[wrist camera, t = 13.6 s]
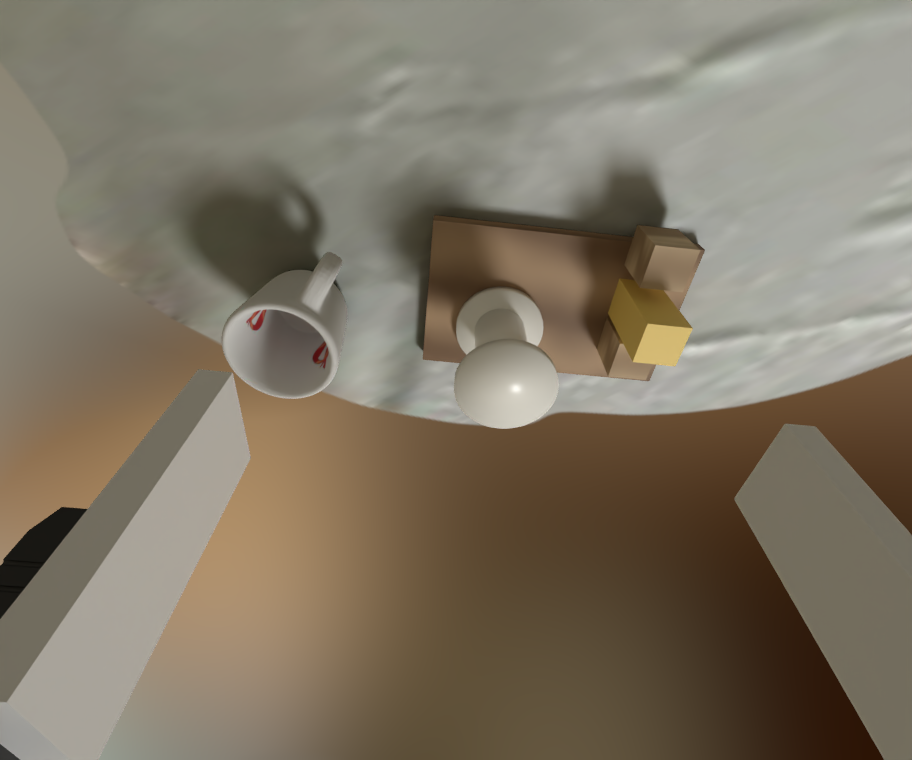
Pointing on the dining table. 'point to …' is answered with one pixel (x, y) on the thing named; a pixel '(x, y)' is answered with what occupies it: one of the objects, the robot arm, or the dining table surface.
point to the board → (554, 285)
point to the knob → (503, 360)
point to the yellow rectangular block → (648, 324)
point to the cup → (289, 332)
